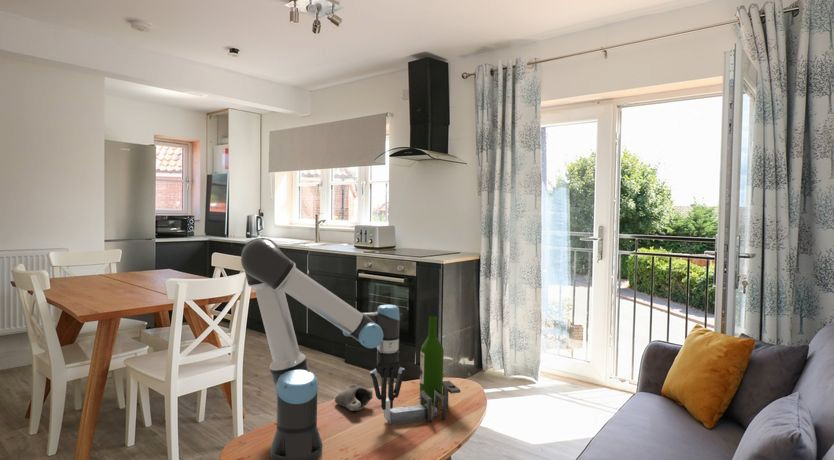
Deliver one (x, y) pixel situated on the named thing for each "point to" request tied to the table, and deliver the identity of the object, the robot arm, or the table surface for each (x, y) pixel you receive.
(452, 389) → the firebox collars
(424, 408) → the grey sharpening stone
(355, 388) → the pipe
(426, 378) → the wine bottle
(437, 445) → the table surface
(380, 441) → the table surface
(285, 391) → the robot arm
